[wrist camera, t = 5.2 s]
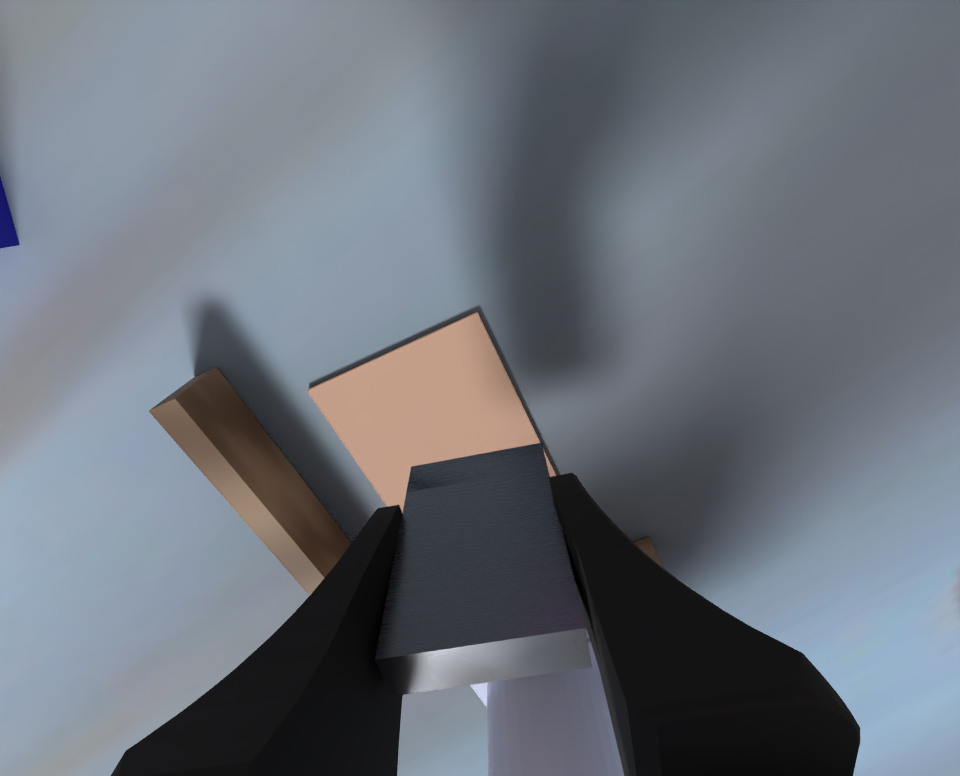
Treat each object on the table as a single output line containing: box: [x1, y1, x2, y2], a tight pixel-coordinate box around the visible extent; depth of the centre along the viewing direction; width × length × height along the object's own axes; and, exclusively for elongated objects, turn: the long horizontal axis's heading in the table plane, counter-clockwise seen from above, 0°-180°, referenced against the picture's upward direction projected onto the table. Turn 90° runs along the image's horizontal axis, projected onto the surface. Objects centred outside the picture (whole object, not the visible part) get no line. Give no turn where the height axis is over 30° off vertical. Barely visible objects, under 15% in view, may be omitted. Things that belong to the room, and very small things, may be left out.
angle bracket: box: [375, 443, 592, 696], centre depth 13 cm, size 7×4×6 cm, turn 12°
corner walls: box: [149, 367, 664, 630], centre depth 21 cm, size 18×15×3 cm
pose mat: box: [307, 312, 556, 513], centre depth 21 cm, size 11×8×1 cm
